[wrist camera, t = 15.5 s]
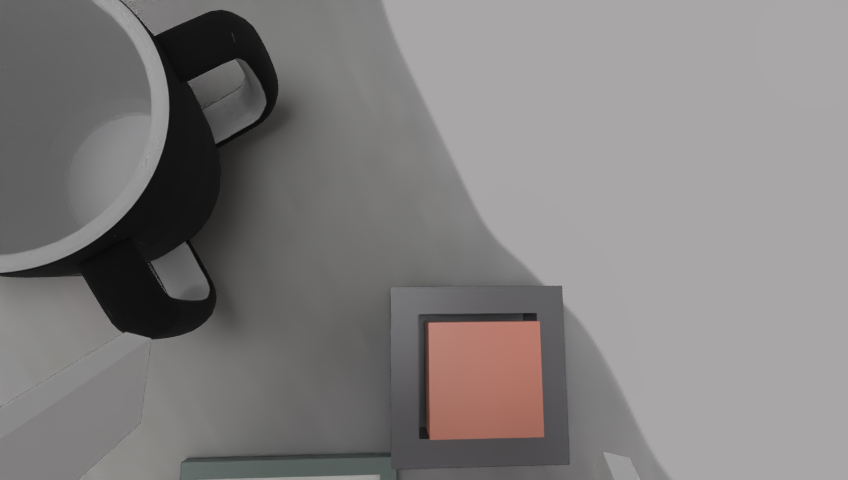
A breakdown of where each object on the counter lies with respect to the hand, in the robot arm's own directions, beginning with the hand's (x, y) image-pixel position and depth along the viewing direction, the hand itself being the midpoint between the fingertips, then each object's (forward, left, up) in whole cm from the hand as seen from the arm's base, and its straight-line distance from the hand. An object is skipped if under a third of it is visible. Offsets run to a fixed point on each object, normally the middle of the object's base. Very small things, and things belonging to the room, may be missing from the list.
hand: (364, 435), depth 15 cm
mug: (-11, -14, -17) cm, 24 cm away
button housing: (0, +5, -16) cm, 17 cm away
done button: (0, +5, -13) cm, 14 cm away
